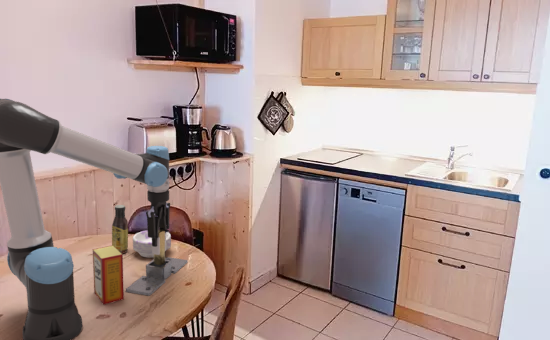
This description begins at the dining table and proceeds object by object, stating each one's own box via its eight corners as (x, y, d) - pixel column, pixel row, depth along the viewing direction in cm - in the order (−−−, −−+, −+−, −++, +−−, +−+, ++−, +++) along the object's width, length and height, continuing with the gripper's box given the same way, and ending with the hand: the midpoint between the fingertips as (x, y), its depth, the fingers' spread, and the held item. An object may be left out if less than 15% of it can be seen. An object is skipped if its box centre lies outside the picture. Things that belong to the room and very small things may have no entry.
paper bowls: (135, 263, 172) (135, 243, 170) (131, 249, 186) (130, 231, 184) (174, 258, 178) (174, 239, 177) (167, 245, 192) (167, 227, 190)
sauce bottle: (109, 252, 181) (107, 205, 177) (121, 247, 186) (120, 202, 182) (118, 256, 178) (117, 209, 174) (131, 251, 183) (130, 205, 179)
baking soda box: (94, 293, 147) (92, 248, 144) (113, 288, 151) (112, 244, 148) (103, 304, 140) (101, 257, 137) (123, 299, 144) (122, 253, 141)
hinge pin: (161, 265, 158) (161, 234, 156) (151, 263, 159) (151, 232, 157) (167, 261, 162) (166, 230, 160) (157, 259, 163) (156, 229, 161)
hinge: (149, 295, 147) (149, 282, 146) (125, 291, 149) (125, 278, 148) (187, 262, 175) (187, 250, 174) (166, 259, 177) (166, 247, 176)
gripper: (155, 196, 146) (156, 262, 151) (178, 185, 162) (179, 244, 167) (135, 194, 148) (137, 259, 153) (160, 183, 164) (161, 242, 169)
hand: (159, 251), depth 160 cm, fingers closed on hinge pin, 4 cm apart
